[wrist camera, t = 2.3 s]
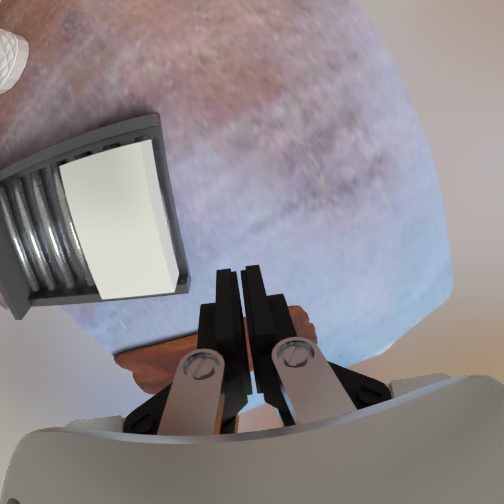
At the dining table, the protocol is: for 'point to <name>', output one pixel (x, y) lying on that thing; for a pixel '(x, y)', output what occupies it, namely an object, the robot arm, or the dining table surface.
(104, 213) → the slab
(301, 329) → the wooden tablet
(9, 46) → the white cup
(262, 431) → the robot arm
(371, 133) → the dining table surface
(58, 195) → the roller track
